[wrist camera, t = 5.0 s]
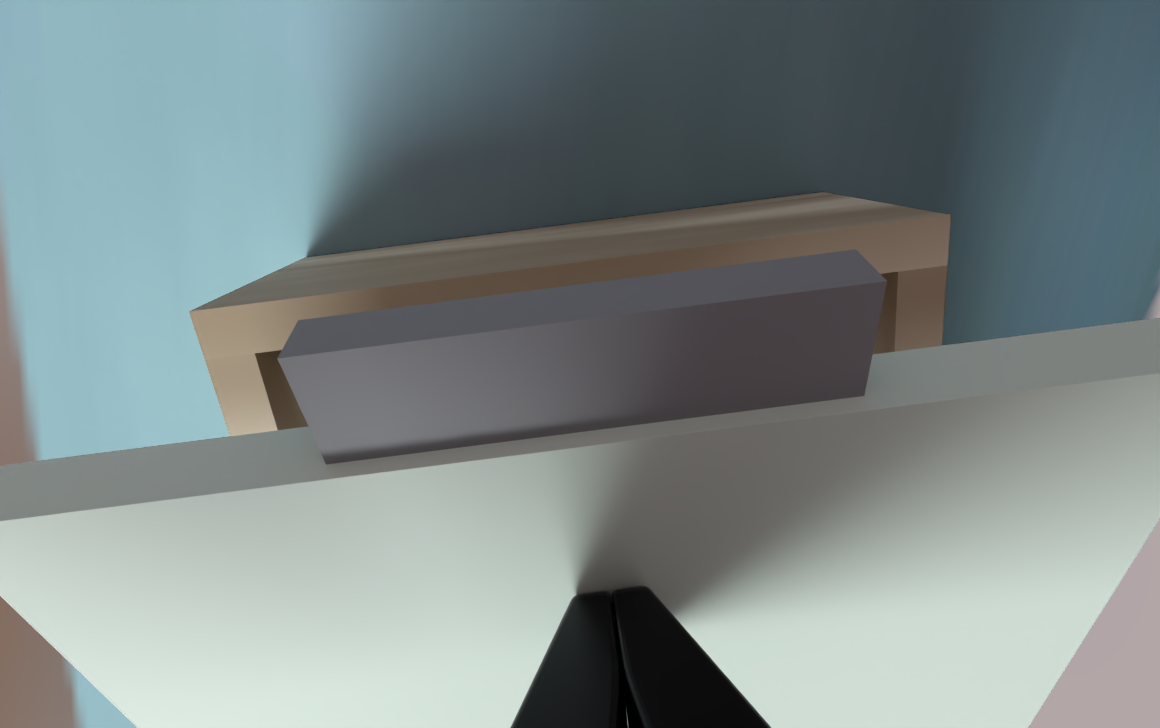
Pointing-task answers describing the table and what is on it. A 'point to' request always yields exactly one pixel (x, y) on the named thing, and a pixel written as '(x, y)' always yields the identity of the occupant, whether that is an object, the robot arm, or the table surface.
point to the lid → (612, 510)
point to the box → (566, 279)
